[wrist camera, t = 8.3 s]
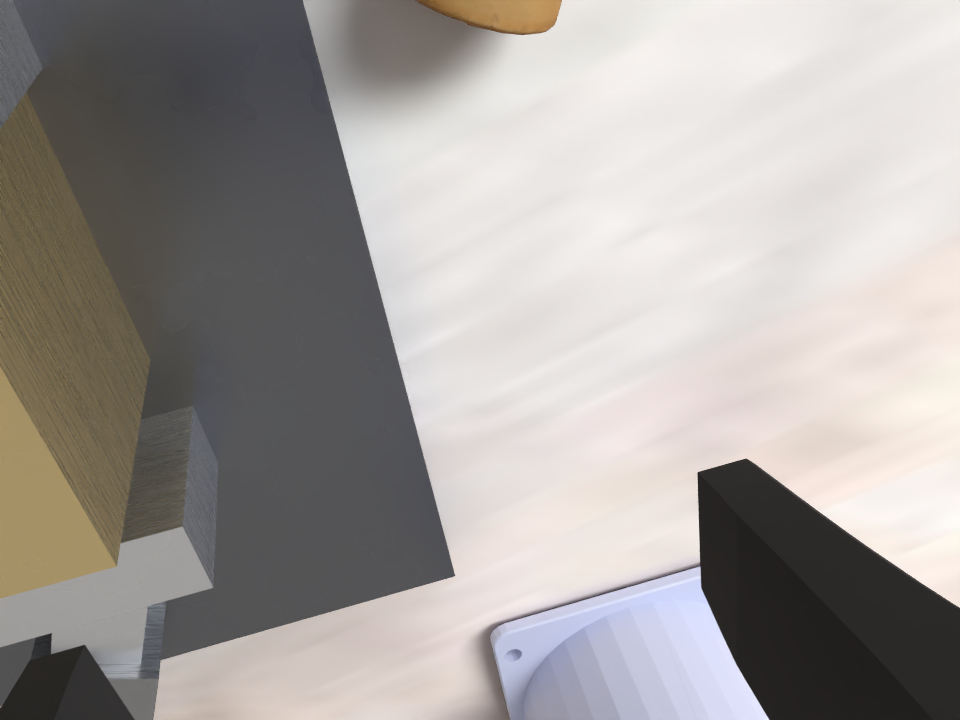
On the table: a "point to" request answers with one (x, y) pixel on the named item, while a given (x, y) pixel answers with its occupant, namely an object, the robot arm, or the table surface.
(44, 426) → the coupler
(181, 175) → the shaft base
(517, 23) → the kendama
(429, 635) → the table surface
